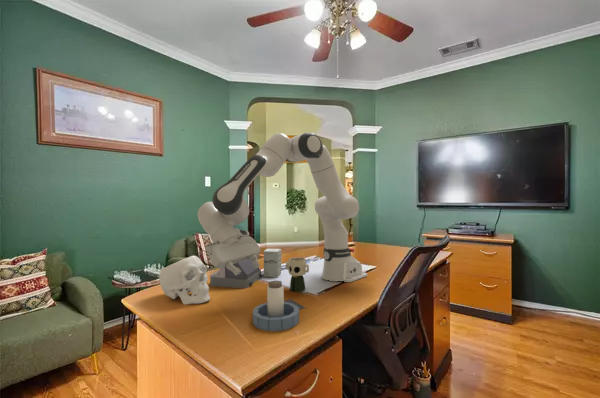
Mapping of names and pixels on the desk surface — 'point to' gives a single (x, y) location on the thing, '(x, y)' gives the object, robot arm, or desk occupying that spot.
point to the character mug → (297, 272)
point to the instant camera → (236, 276)
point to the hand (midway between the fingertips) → (248, 270)
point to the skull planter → (185, 280)
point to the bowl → (276, 318)
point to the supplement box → (272, 262)
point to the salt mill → (275, 299)
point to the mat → (295, 303)
